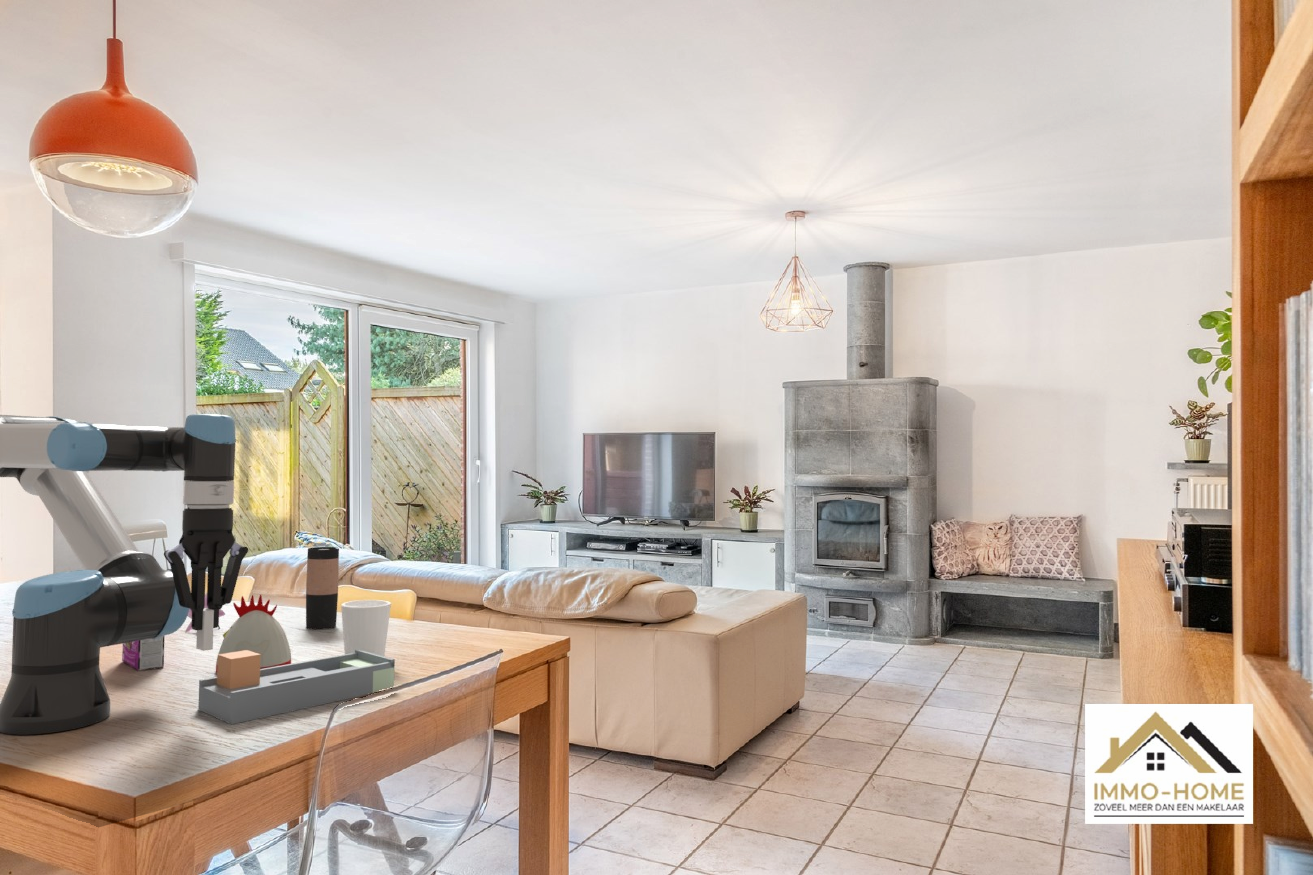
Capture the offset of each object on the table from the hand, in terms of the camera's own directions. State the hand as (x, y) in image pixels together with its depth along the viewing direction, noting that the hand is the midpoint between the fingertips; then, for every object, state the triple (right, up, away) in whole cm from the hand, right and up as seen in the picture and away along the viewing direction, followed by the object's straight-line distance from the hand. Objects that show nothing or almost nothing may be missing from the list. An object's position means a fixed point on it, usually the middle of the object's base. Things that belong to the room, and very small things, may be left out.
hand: (204, 648), depth 143 cm
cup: (+14, -13, +37) cm, 41 cm away
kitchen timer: (-7, -12, +32) cm, 35 cm away
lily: (-36, -13, +69) cm, 78 cm away
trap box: (+12, -12, +10) cm, 19 cm away
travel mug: (-10, -13, +76) cm, 78 cm away
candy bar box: (-30, -12, +33) cm, 47 cm away
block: (+3, -7, +4) cm, 9 cm away
